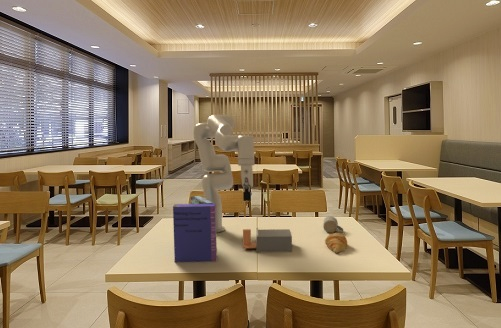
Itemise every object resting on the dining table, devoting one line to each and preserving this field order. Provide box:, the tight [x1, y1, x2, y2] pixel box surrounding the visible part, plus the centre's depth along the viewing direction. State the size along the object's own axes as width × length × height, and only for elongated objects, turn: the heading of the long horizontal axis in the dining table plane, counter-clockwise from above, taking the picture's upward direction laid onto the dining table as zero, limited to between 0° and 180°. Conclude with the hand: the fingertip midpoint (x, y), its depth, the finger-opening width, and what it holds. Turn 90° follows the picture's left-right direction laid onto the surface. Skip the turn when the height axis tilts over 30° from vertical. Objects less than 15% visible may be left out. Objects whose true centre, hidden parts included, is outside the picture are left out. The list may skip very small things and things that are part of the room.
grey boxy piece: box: [256, 227, 293, 253], centre depth 173 cm, size 16×12×8 cm
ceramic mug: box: [322, 215, 344, 234], centre depth 199 cm, size 11×8×8 cm
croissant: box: [324, 232, 348, 254], centre depth 172 cm, size 21×10×8 cm, turn 168°
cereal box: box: [172, 203, 218, 263], centre depth 157 cm, size 17×5×24 cm, turn 91°
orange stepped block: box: [242, 228, 257, 249], centre depth 173 cm, size 16×8×8 cm, turn 89°
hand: (247, 199), depth 171 cm, fingers open, 9 cm apart
